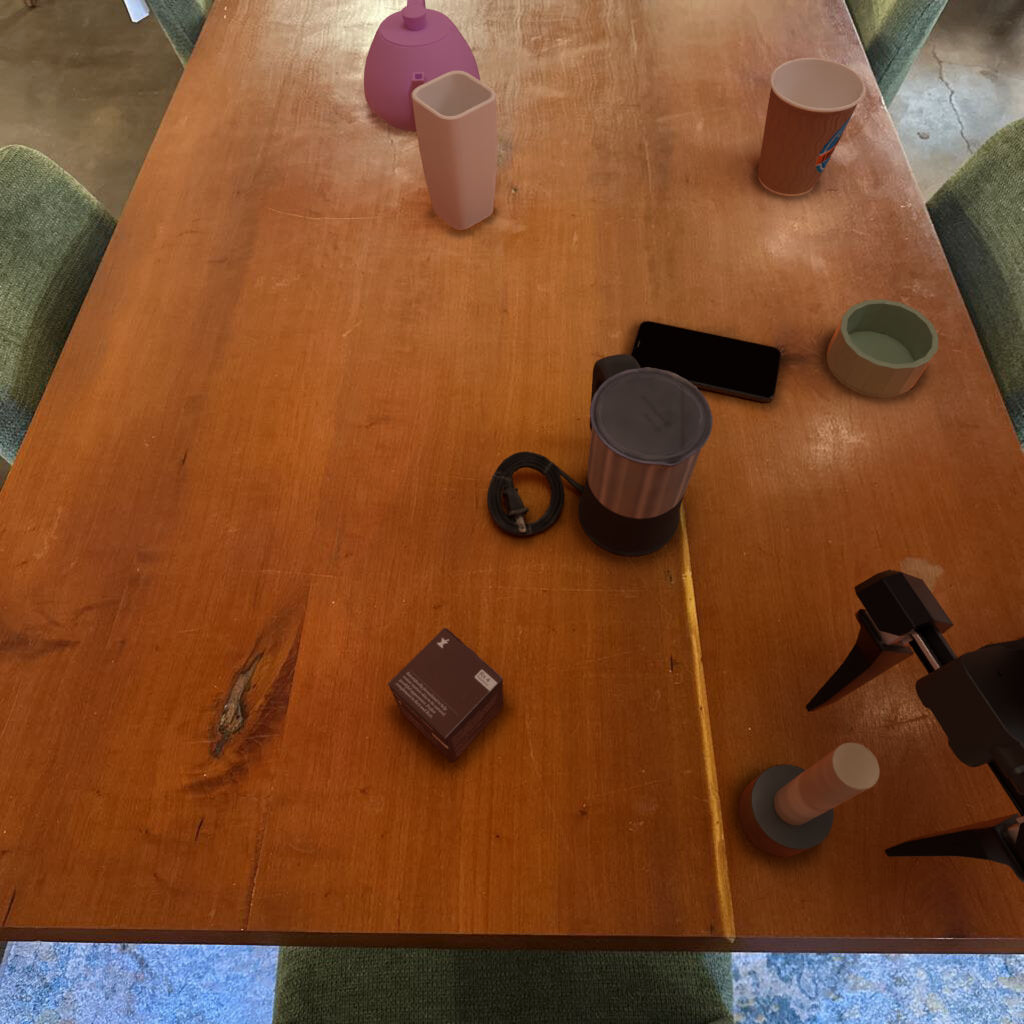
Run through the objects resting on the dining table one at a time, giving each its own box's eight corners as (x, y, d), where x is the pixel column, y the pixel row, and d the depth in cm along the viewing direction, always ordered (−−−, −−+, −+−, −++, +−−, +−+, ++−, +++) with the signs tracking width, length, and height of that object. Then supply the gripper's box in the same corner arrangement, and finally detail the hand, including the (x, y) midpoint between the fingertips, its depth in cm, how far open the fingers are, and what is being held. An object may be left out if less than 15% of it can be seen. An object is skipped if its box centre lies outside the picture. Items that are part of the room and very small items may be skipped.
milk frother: (700, 527, 69) (739, 427, 56) (555, 614, 65) (562, 527, 52) (608, 423, 75) (624, 311, 63) (470, 496, 71) (458, 392, 58)
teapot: (368, 64, 109) (352, -30, 99) (476, 57, 110) (471, -37, 100) (366, 158, 98) (347, 62, 88) (487, 150, 99) (482, 53, 88)
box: (399, 712, 61) (384, 682, 54) (452, 659, 63) (444, 624, 57) (453, 765, 58) (444, 740, 52) (506, 708, 61) (504, 677, 54)
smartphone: (781, 353, 80) (640, 323, 82) (783, 347, 79) (641, 317, 81) (772, 406, 76) (624, 373, 78) (774, 401, 75) (625, 368, 78)
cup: (421, 213, 92) (404, 92, 80) (468, 187, 95) (458, 66, 82) (459, 243, 89) (447, 122, 77) (506, 216, 92) (502, 94, 79)
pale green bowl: (920, 342, 80) (940, 310, 76) (915, 407, 76) (936, 377, 72) (831, 323, 82) (846, 291, 78) (821, 386, 77) (836, 355, 73)
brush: (819, 790, 57) (911, 733, 43) (810, 868, 54) (905, 833, 41) (744, 766, 58) (811, 703, 44) (731, 842, 55) (798, 799, 42)
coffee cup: (820, 214, 91) (858, 117, 81) (735, 194, 93) (761, 98, 83) (835, 164, 96) (872, 67, 85) (754, 146, 98) (780, 50, 88)
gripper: (957, 493, 39) (716, 639, 47) (1246, 870, 30) (888, 975, 38) (1003, 526, 47) (791, 647, 55) (1244, 832, 38) (948, 925, 46)
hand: (846, 777), depth 48 cm, fingers open, 9 cm apart
